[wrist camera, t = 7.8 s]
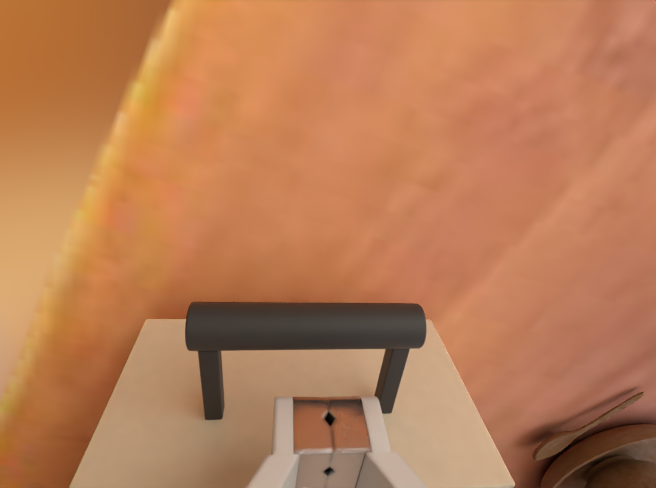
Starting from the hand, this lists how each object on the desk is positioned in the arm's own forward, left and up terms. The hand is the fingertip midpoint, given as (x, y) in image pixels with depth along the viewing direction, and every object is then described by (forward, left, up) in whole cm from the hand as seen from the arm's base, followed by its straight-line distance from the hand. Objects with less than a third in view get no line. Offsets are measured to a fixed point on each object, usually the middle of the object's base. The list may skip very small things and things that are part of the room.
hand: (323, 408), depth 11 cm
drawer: (+3, +6, -6) cm, 9 cm away
